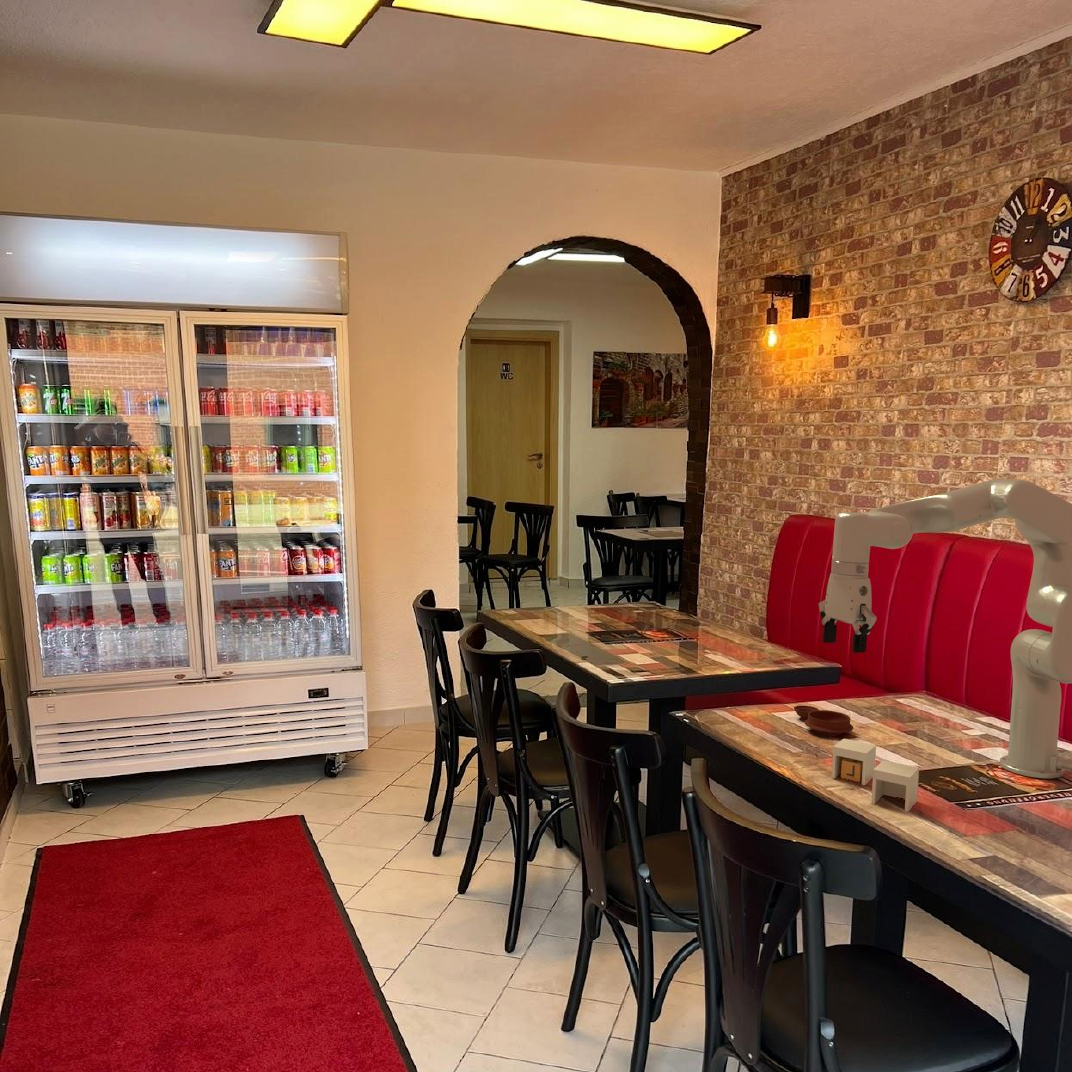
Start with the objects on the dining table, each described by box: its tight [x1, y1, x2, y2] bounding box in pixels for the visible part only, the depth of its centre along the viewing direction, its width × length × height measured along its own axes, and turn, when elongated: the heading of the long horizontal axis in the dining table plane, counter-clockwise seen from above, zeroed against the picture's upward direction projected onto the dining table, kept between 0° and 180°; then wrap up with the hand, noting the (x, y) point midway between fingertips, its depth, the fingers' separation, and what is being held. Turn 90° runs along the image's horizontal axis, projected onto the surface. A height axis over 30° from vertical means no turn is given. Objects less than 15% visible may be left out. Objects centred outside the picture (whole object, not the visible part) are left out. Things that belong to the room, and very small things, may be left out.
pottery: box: [793, 704, 854, 737], centre depth 230 cm, size 12×20×4 cm, turn 13°
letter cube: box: [840, 757, 863, 783], centre depth 194 cm, size 4×4×4 cm
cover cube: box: [831, 738, 877, 786], centre depth 194 cm, size 7×7×7 cm
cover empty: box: [870, 759, 920, 813], centre depth 180 cm, size 7×7×7 cm
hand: (843, 647), depth 195 cm, fingers open, 9 cm apart
